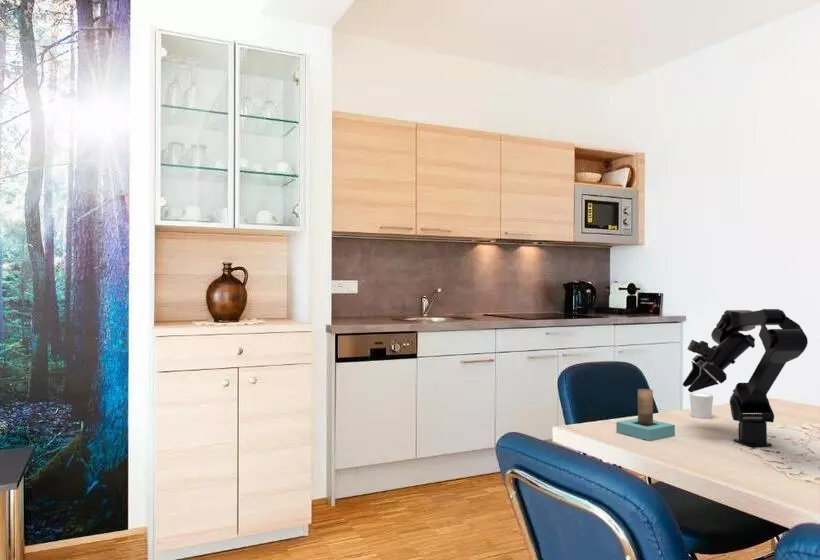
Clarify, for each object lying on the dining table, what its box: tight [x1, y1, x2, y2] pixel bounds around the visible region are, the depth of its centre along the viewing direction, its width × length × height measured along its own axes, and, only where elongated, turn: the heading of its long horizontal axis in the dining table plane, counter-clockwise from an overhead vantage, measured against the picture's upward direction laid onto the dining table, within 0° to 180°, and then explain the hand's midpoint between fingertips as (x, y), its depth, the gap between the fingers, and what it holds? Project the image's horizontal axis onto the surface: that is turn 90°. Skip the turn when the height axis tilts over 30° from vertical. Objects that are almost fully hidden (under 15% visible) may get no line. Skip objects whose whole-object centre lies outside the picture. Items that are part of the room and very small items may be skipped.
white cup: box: [689, 392, 714, 419], centre depth 192 cm, size 7×7×7 cm
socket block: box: [615, 417, 676, 442], centre depth 170 cm, size 11×11×3 cm
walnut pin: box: [637, 388, 654, 426], centre depth 170 cm, size 4×4×12 cm
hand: (686, 388), depth 172 cm, fingers open, 9 cm apart
